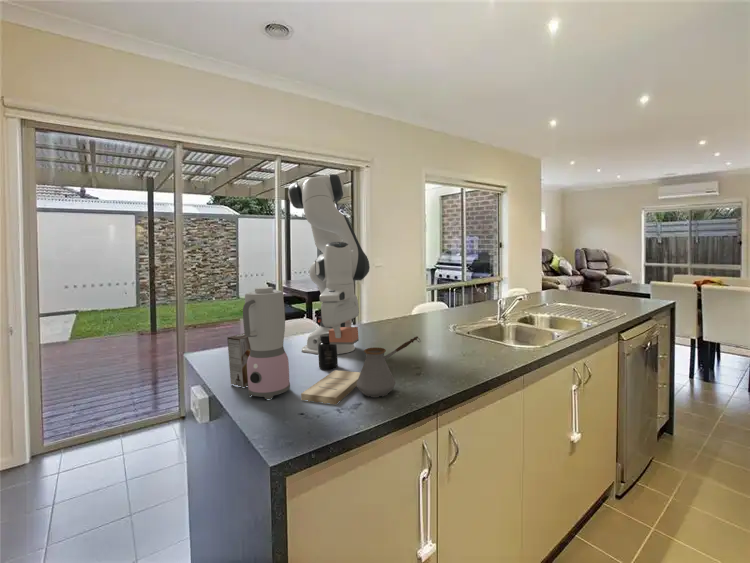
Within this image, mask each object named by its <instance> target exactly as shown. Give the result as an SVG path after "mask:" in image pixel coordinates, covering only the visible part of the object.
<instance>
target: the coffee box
mask: <svg viewBox="0 0 750 563" xmlns="http://www.w3.org/2000/svg"><path fill="white" fill-rule="evenodd" d="M227 351H228V352H227V353H228V363H229V365H228V366H229V376H230V385H231V384H234V385H238V386H241V387H246V386H248V376H247V360H248V357H249V355H250V351H251V348H250V343H249V339H248V337H247V336H246V335H245V333H243V332H242V333H240V334H239V333H238V334H236V335H231V336H228V337H227Z"/></svg>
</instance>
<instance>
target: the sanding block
mask: <svg viewBox="0 0 750 563" xmlns="http://www.w3.org/2000/svg"><path fill="white" fill-rule="evenodd" d="M358 328H359V327H358V326H351V327H340V330H341V332H342V337H341V338H336V337H335V332H334V330H333V329H331V330H329V341H330V344H356V343H358V342H359V329H358Z"/></svg>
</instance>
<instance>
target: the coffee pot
mask: <svg viewBox="0 0 750 563" xmlns="http://www.w3.org/2000/svg"><path fill="white" fill-rule="evenodd" d="M414 341H416V342H418V343H421V342H422V341H421V339H420V338H419V336H414V337H413V338H410V339H409V340H408V341H406V342H404V343H402V344H401V345H400V346H398V347H397V348H395V349H394V350H393V351H391V352H389V353H388V354H386V355H385V352H386V351H387V349H386V348H384V347H369V348H366V349H364V350H363V352H364V353H365V360H364V362H363V365H362V368H361V370H360V372H361V373H360V375H359V378H358V381H357V387H356V388H357V389H358V390H359V391H360V392H361V393H362V394H363V395H364V396H366V395H367V396H366V397H369V396H371V397H370V398H380V397H379V396H382V397H385V396H388V395H389V394H388V393H390V392H391V391H392V390H394V387H395V385H396V380H395V379H394V376H393V374H392V372H391V369H390V368H389V365H388V362H387V361H386V360H387V359H389V358H390V357H391V356H393V355H395V354H396V353H398V352H400V351H401V350H403V349H406V348H407V347H408V346H410V344H411V343H414ZM384 395H385V396H384Z"/></svg>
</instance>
